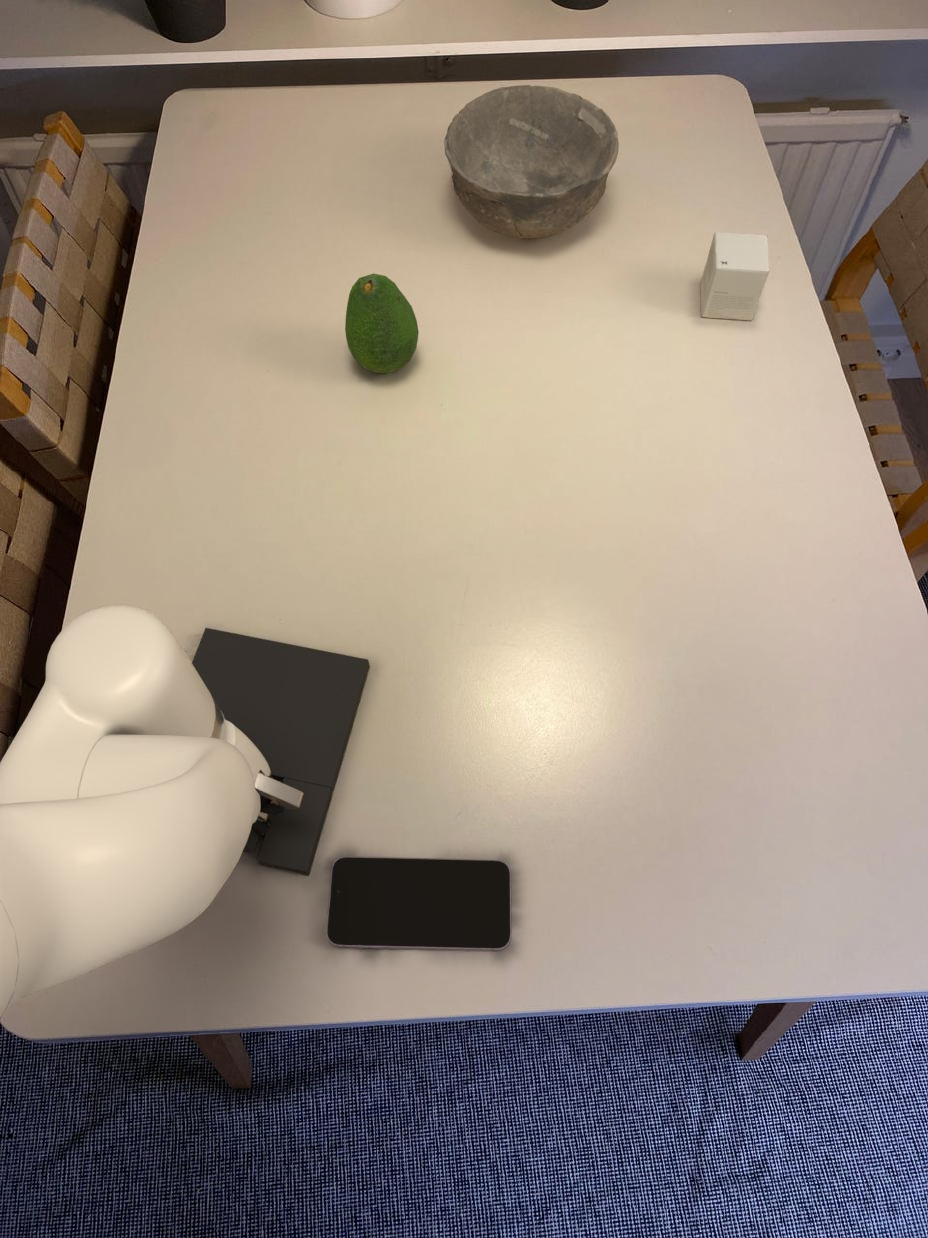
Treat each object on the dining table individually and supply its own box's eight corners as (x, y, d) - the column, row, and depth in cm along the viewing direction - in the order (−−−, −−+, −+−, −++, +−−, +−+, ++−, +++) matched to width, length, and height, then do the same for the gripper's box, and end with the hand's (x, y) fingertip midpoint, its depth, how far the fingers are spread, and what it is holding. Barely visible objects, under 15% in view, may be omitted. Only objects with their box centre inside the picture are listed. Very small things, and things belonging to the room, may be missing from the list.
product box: (752, 322, 107) (770, 272, 101) (699, 318, 108) (714, 267, 101) (750, 285, 110) (768, 234, 104) (699, 281, 111) (714, 229, 104)
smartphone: (511, 950, 74) (324, 946, 74) (510, 952, 75) (326, 948, 75) (510, 859, 77) (332, 855, 77) (509, 862, 78) (333, 858, 78)
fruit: (425, 386, 103) (420, 304, 92) (354, 395, 102) (341, 313, 92) (415, 334, 107) (410, 249, 96) (347, 342, 106) (334, 257, 95)
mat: (309, 876, 78) (306, 872, 76) (130, 836, 79) (125, 831, 78) (370, 666, 87) (368, 659, 85) (209, 634, 88) (205, 627, 87)
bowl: (441, 160, 121) (440, 86, 112) (596, 154, 122) (607, 79, 113) (450, 270, 112) (448, 198, 103) (618, 263, 112) (631, 191, 103)
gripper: (24, 757, 62) (115, 829, 77) (271, 810, 60) (312, 873, 76) (70, 658, 65) (148, 747, 81) (305, 706, 63) (337, 787, 79)
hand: (227, 807), depth 78 cm, fingers closed on pad piece, 6 cm apart
